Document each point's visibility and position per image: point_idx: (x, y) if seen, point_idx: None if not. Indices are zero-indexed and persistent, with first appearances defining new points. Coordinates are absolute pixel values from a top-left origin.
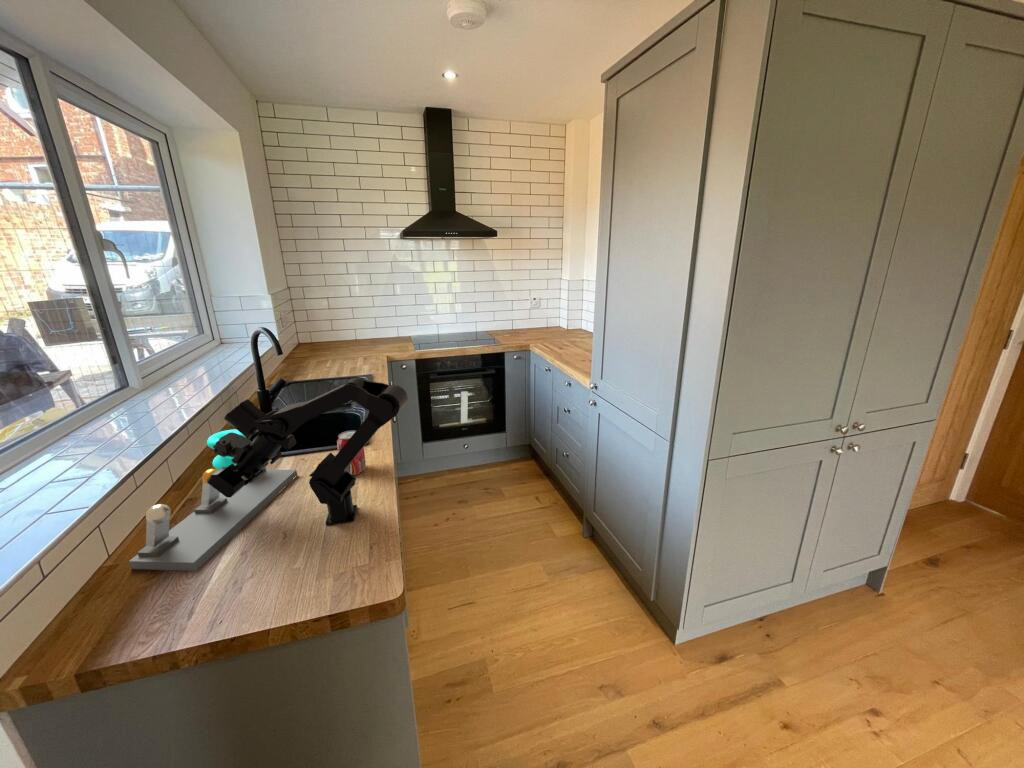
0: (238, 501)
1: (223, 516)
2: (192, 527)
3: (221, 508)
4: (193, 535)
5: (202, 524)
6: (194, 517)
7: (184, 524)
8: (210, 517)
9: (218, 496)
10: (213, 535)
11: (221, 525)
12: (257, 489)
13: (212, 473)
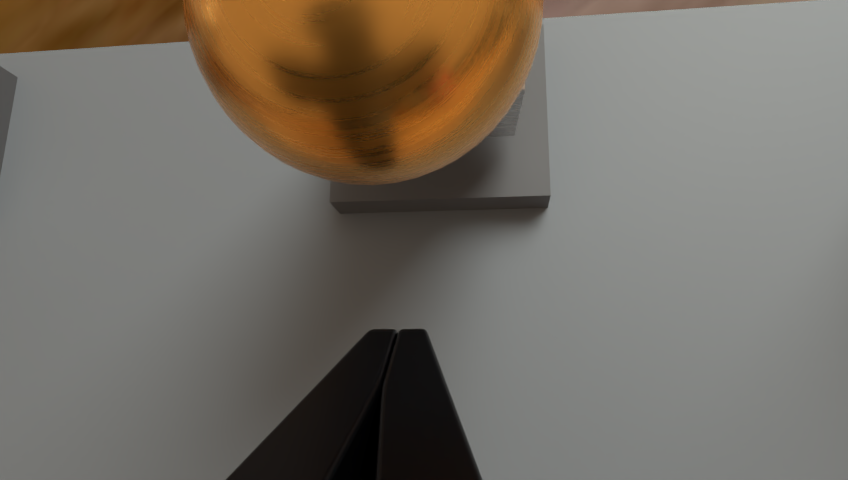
0: (554, 326)
1: (293, 356)
2: (146, 196)
3: (425, 237)
4: (36, 292)
5: (181, 250)
6: None
7: (191, 98)
8: (282, 241)
9: (502, 133)
10: (13, 476)
11: (150, 445)
12: (822, 384)
13: (233, 29)
